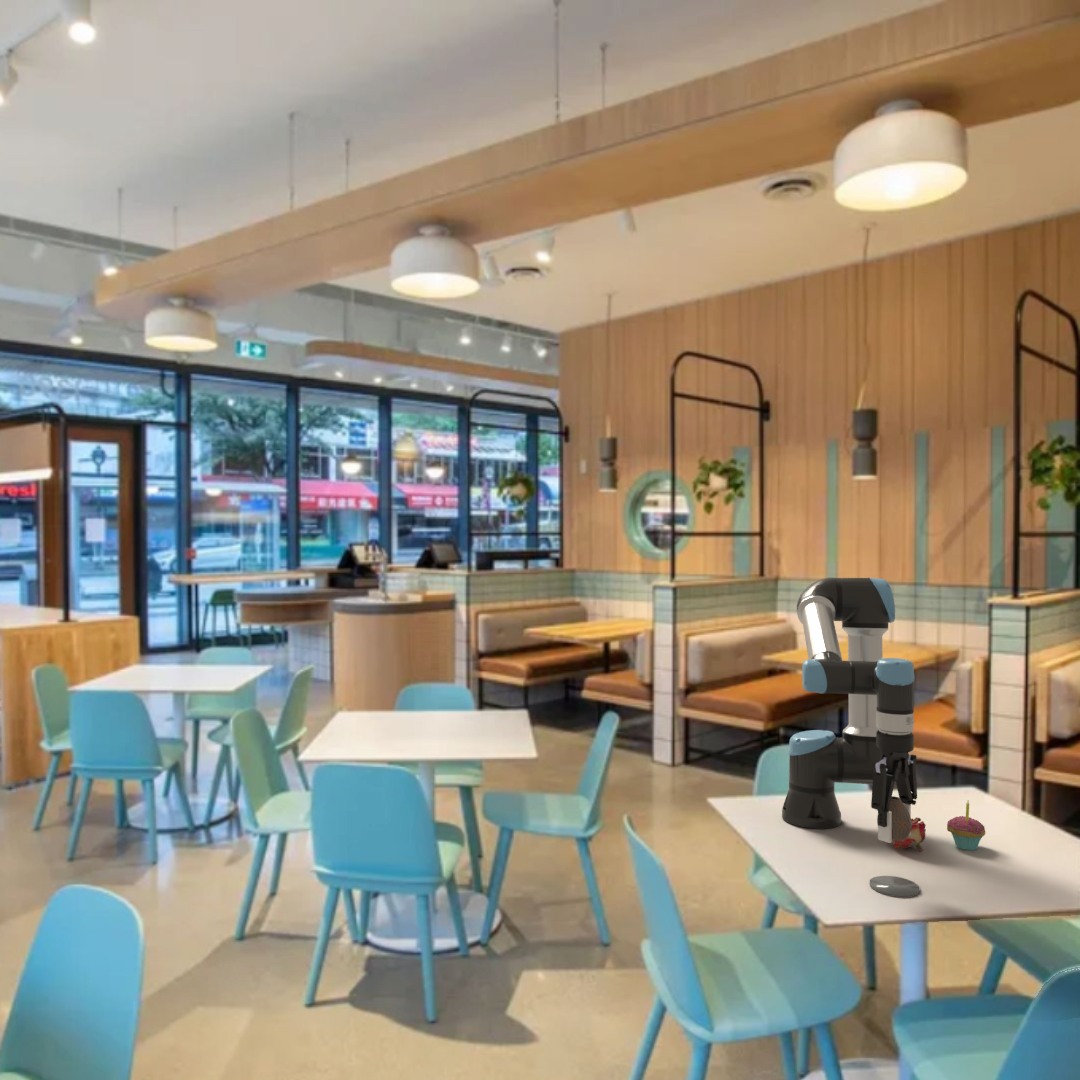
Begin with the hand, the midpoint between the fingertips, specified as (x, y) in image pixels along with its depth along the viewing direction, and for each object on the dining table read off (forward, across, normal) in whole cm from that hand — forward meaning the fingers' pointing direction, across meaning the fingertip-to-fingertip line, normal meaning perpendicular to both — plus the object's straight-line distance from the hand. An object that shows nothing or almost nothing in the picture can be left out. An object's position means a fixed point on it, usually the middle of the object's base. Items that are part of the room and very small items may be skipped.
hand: (894, 836), depth 190 cm
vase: (+1, 0, 0) cm, 1 cm away
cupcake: (+11, +37, +3) cm, 39 cm away
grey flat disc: (+11, 0, 0) cm, 11 cm away
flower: (+11, +24, +11) cm, 29 cm away
